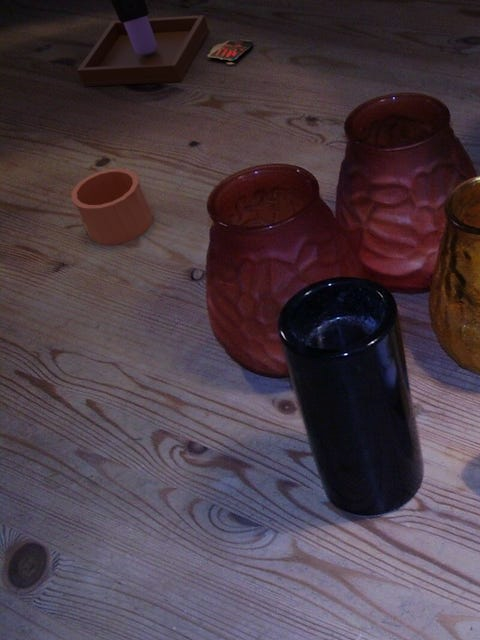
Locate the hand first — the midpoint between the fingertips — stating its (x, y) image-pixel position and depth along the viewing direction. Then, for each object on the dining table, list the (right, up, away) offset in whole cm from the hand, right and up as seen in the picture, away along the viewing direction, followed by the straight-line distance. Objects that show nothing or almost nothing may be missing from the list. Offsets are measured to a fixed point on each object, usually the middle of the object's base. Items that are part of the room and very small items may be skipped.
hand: (131, 10), depth 109 cm
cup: (+6, -26, -19) cm, 33 cm away
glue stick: (+1, -3, +3) cm, 5 cm away
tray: (+1, -4, +4) cm, 6 cm away
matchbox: (+10, -4, +3) cm, 11 cm away
